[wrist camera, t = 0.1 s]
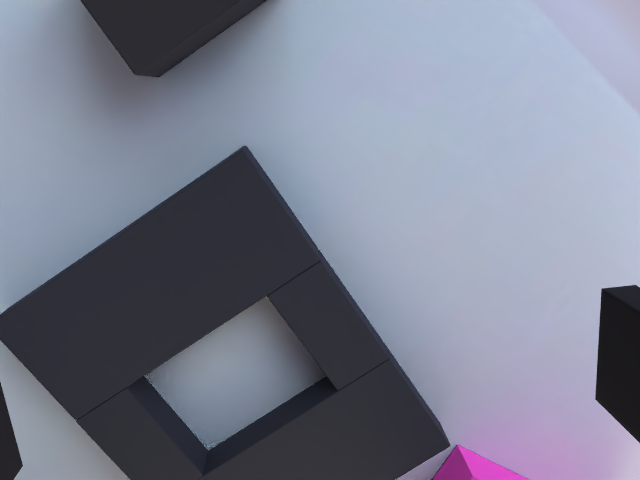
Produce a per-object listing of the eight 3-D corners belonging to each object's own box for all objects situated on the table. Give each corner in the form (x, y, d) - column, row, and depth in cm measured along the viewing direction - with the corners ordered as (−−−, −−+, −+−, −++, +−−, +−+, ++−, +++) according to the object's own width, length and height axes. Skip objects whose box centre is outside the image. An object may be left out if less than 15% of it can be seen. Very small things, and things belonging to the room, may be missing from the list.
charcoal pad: (7, 308, 26) (-15, 325, 25) (246, 144, 25) (243, 149, 23) (229, 551, 31) (226, 582, 29) (440, 423, 30) (451, 446, 28)
